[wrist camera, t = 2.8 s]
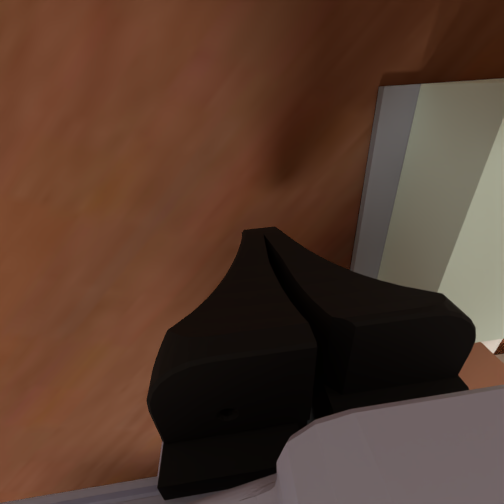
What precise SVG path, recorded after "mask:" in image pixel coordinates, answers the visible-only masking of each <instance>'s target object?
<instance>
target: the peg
mask: <svg viewBox="0 0 504 504" xmlns="http://www.w3.org/2000/svg"><path fill="white" fill-rule="evenodd" d="M458 375H459V377H460V378H461V379H462V380H463V381H464V383H465V384H466V385H467V386H468V388H469V390H473V389H479V388H485V387H491V386H498V385H504V363H503V362H502V361H500V360H499V359H498V358H497V357H496V356H495V355H494V354H493V353H492V352H491V351H490V350H489V349H488V348H487V347H486V346H485V345H484V344H482V343H481V342H477V343H474V345H473V348H472V351H471V352H470V354H469V356H468V358H467V360H466V361H465V363H464V365H463V367H462V369H461V371H460V372H459V374H458Z"/></svg>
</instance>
